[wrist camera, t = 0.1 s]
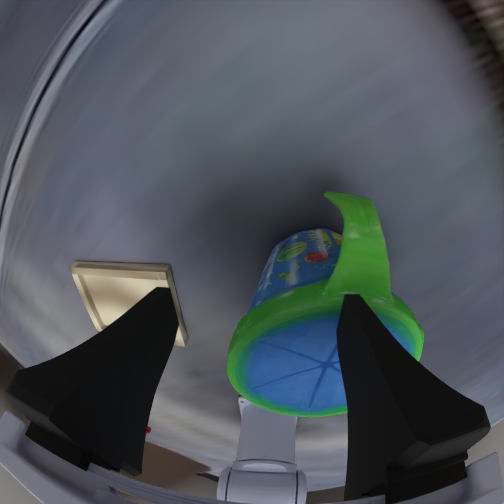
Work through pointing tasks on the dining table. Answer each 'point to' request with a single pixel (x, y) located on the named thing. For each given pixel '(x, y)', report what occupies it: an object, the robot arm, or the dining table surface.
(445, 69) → the dining table surface
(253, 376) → the snack cup
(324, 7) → the dining table surface
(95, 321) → the tray
